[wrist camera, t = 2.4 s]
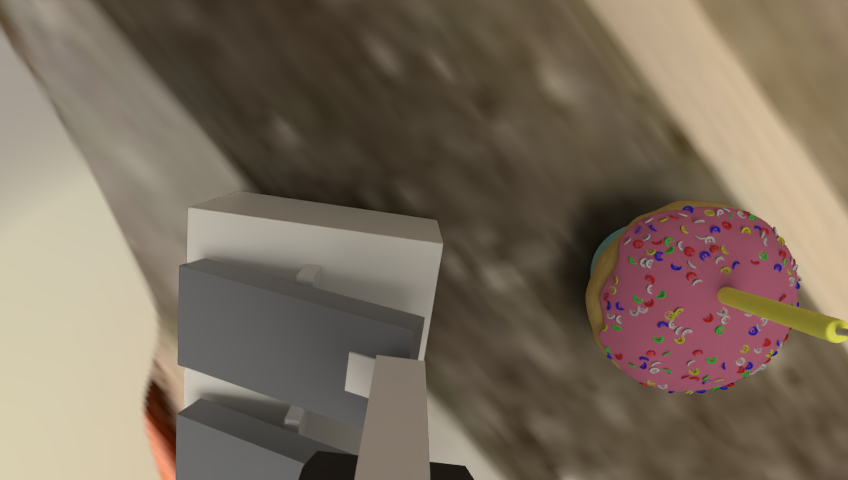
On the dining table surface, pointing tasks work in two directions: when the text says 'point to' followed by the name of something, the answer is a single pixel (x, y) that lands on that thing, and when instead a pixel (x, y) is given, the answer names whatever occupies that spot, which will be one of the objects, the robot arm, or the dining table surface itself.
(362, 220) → the switch unit
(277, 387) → the rocker
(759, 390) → the dining table surface
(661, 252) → the cupcake
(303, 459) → the block
